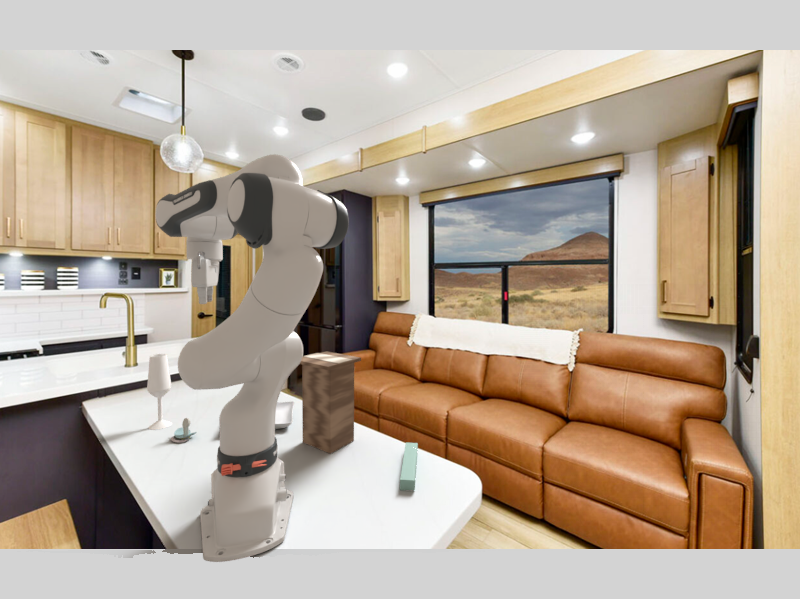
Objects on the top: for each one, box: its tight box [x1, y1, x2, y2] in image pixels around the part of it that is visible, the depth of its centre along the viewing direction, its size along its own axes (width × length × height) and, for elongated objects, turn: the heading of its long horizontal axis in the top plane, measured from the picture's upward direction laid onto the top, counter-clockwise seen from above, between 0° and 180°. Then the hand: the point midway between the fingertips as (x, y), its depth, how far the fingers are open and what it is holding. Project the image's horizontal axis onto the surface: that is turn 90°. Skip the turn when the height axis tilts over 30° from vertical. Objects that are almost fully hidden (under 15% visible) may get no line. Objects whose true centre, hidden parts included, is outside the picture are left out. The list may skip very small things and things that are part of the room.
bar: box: [399, 442, 419, 491], centre depth 93 cm, size 19×4×3 cm, turn 175°
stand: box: [299, 351, 362, 455], centre depth 107 cm, size 15×14×26 cm
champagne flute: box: [146, 353, 173, 431], centre depth 117 cm, size 7×7×24 cm
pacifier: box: [170, 417, 197, 444], centre depth 108 cm, size 7×6×6 cm
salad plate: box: [275, 401, 295, 430], centre depth 122 cm, size 21×21×3 cm
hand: (206, 302), depth 98 cm, fingers open, 8 cm apart
